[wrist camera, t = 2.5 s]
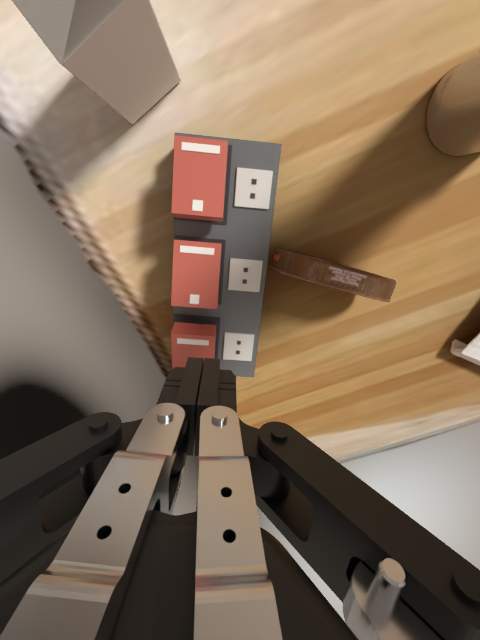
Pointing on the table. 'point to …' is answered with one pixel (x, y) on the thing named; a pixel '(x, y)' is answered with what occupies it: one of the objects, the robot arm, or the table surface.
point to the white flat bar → (467, 350)
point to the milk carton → (108, 48)
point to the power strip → (237, 251)
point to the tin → (332, 275)
